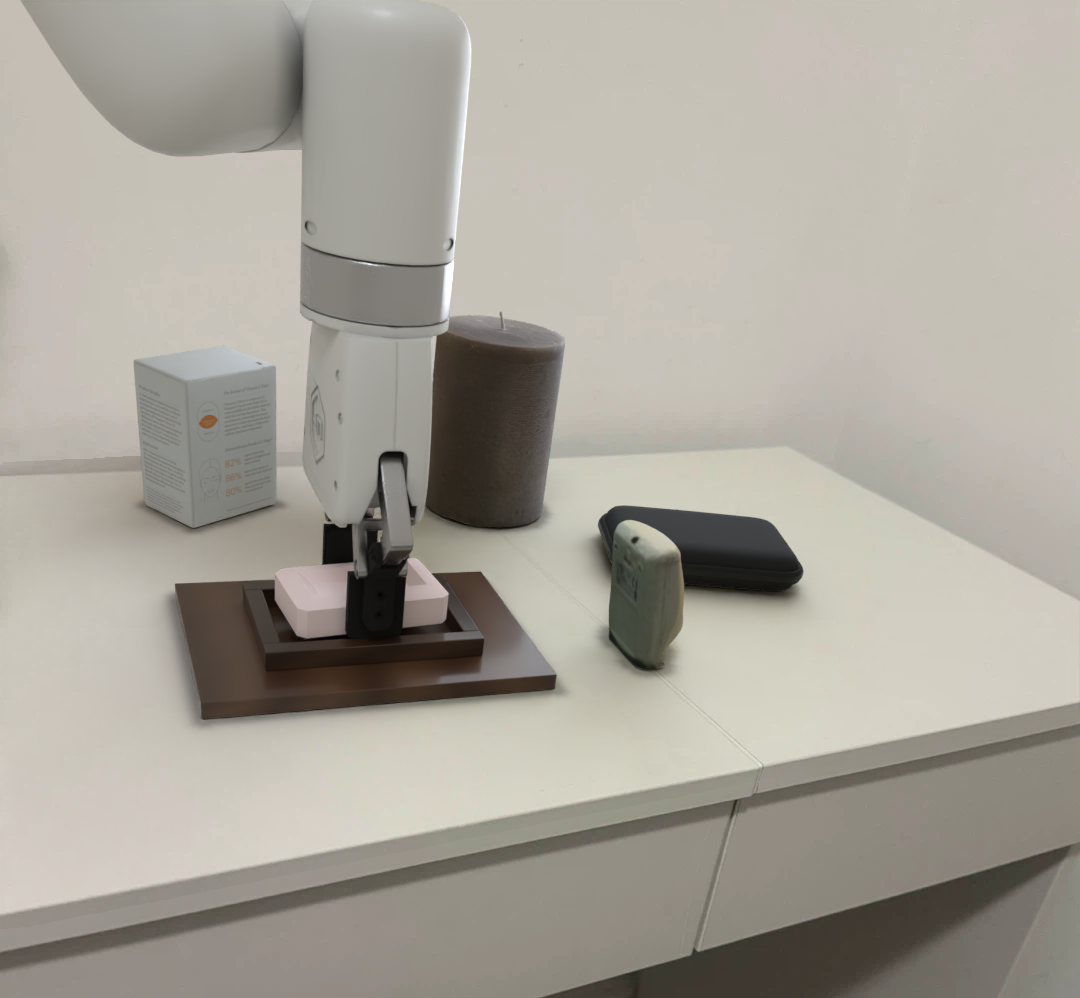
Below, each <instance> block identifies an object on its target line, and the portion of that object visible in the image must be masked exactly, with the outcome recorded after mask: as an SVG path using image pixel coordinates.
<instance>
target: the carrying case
mask: <svg viewBox="0 0 1080 998" xmlns="http://www.w3.org/2000/svg"><path fill="white" fill-rule="evenodd" d="M625 520H634V521H638V522H641V523H643V524H646V525H648V526H650V527H652V528H654V529H656V530H658V531H659V532H661V533H663V534H664V535H665V536H667V537H668V538H669V539H670V540H671V541H672V542H673V543H674V544H675V545H676V546H677V548H678V549H679V551H680V554H681V565H682V572H683V580H684V585H688V586H698V587H699V586H701V587H711V588H724V589H725V588H726V589H738V590H750V591H762V592H763V591H764V592H782V591H786V590H788V589H790V588H791V587H792V586H794V585H796V584H798V583H799V582H800V581H801V580H802V578H803V576H804V567H803V565H802V563H801V562H800V560H799V559H798V557H797V555H796V554H795V553H794V551H793V550H792V548H791V547H790V546H789V543H787V541H786V540H785V539H784V536H783V535H782V534H781V533H780V531H779V530H778V528H777V527H776V526H775V525H774V524H773V522H770V521H769V520H766V519H764V518H760V517H756V516H755V517H754V516H747V515H745V516H744V515H736V514H725V513H715V512H705V511H694V510H683V509H671V508H663V507H651V506H648V507H647V506H638V505H615V506H613V507H611V508H610V509H609V510H607V512H605V513H604V514H602V515H601V516H600V518H598V522H597V528H598V530H599V533H600V537H601V540H602V542H603V545H604V548H605V551H606V554H607V556H608V560H609V561H610V563H611V564H612V552H613V540H614V532H615V529H616V527H617V526H618V524H619V523H621V522H623V521H625Z"/></svg>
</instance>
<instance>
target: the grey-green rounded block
mask: <svg viewBox="0 0 1080 998" xmlns="http://www.w3.org/2000/svg"><path fill="white" fill-rule="evenodd" d="M684 600H685V584H684V580H683V572H682V565H681V554H680V551H679V549H678V548H677V546H676V545H675V544H674V543H673V542H672V541H671V540H670V539H669V538H668V537H667V536H665V535H664V534H663V533H661V532H659V531H658V530H656V529H654V528H652V527H650V526H648V525H646V524H643V523H641V522H638V521H634V520H625V521H623V522H621V523H619V524H618V526H617V527H616V529H615V532H614V540H613V552H612V563H611V574H610V592H609V602H608V639H609V641H610V642H611V643H612V644H614V646H616V647H617V649H618V650H619V651H620V652H621V654H623V655H624V657H626V659H627V660H628V661H629V662H630V663H631V665H633V666H634V667H636V668H639V669H640V670H645V671H646V670H647V671H651V670H652V671H653V670H659V669H662V668H665V662H664V660H663V659H664V657H665V656H666V650H667V648H668V647H669V645H671V644H672V642H674V640H675V639H676V638H677V637H678V636H679V634H680V632H681V631H682V628H683V625H684V602H685V601H684Z"/></svg>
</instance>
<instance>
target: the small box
mask: <svg viewBox="0 0 1080 998" xmlns="http://www.w3.org/2000/svg"><path fill="white" fill-rule="evenodd" d="M133 373H134V374H133V375H134V386H135V388H134V389H135V399H136V414H137V425H138V440H139V452H140V465H141V479H142V490H143V491H142V492H143V502H144V505H145V506H146V507H148V508H151V509H153V510H155V511H157V512H160V513H161V514H164V515H165V516H167V517H169V518H171V519H173V520H176V521H178V522H179V523H182V524H183V525H186V526H187V527H190V528H192V529H196V528H199V527H202V526H206V525H209V524H212V523H216V522H218V521H223V520H226V519H230V518H233V517H236V516H240V515H242V514H245V513H250V512H252V511H255V510H259V509H262V508H266V507H268V506H269V507H270V506H272V505H275V504H276V503H277V501H278V485H277V484H278V482H277V481H278V480H277V479H278V475H277V473H278V471H277V469H278V467H277V465H278V463H277V462H278V461H277V460H278V459H277V458H278V457H277V456H278V455H277V365H275V364H273V363H271V362H268V361H265V360H263V359H260V358H257V357H255V356H252V355H251V354H247V353H244V352H242V351H240V350H237V349H234V348H232V347H228V346H226V345H220V346H219V345H218V346H213V347H207V348H200V349H193V350H187V351H179V352H175V353H173V352H172V353H169V354H168V353H167V354H160V355H156V356H148V357H141V358H136V359H134V360H133Z"/></svg>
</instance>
